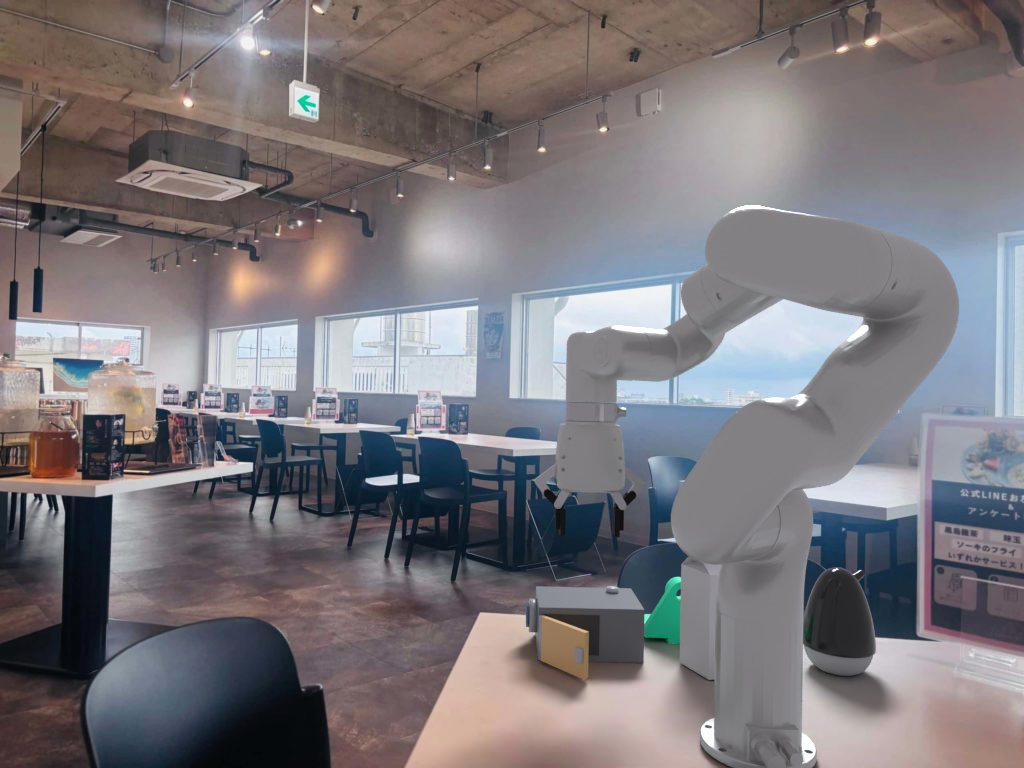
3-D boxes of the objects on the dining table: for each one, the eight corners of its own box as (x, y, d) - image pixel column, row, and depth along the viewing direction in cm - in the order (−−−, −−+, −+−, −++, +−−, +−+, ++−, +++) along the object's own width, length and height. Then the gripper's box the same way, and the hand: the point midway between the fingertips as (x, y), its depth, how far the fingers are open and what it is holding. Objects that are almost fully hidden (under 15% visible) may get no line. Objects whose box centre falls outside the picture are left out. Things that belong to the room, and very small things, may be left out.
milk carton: (749, 675, 102) (750, 544, 103) (708, 681, 100) (710, 547, 100) (717, 658, 109) (719, 535, 109) (679, 663, 106) (681, 537, 107)
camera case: (643, 663, 106) (644, 605, 106) (526, 660, 106) (527, 602, 106) (630, 636, 118) (630, 584, 119) (524, 633, 118) (526, 581, 119)
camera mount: (705, 630, 123) (706, 571, 123) (718, 645, 115) (719, 582, 116) (636, 628, 123) (637, 569, 123) (645, 644, 115) (646, 581, 116)
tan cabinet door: (581, 680, 98) (582, 633, 98) (535, 659, 105) (536, 616, 105) (588, 678, 99) (589, 631, 99) (541, 657, 106) (542, 614, 106)
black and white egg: (892, 676, 103) (893, 572, 103) (842, 687, 99) (844, 578, 99) (833, 653, 112) (835, 557, 113) (785, 662, 108) (787, 562, 108)
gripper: (644, 415, 108) (642, 531, 108) (531, 413, 108) (529, 529, 108) (654, 416, 101) (652, 541, 100) (533, 414, 100) (530, 539, 100)
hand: (588, 534), depth 104 cm, fingers open, 7 cm apart
